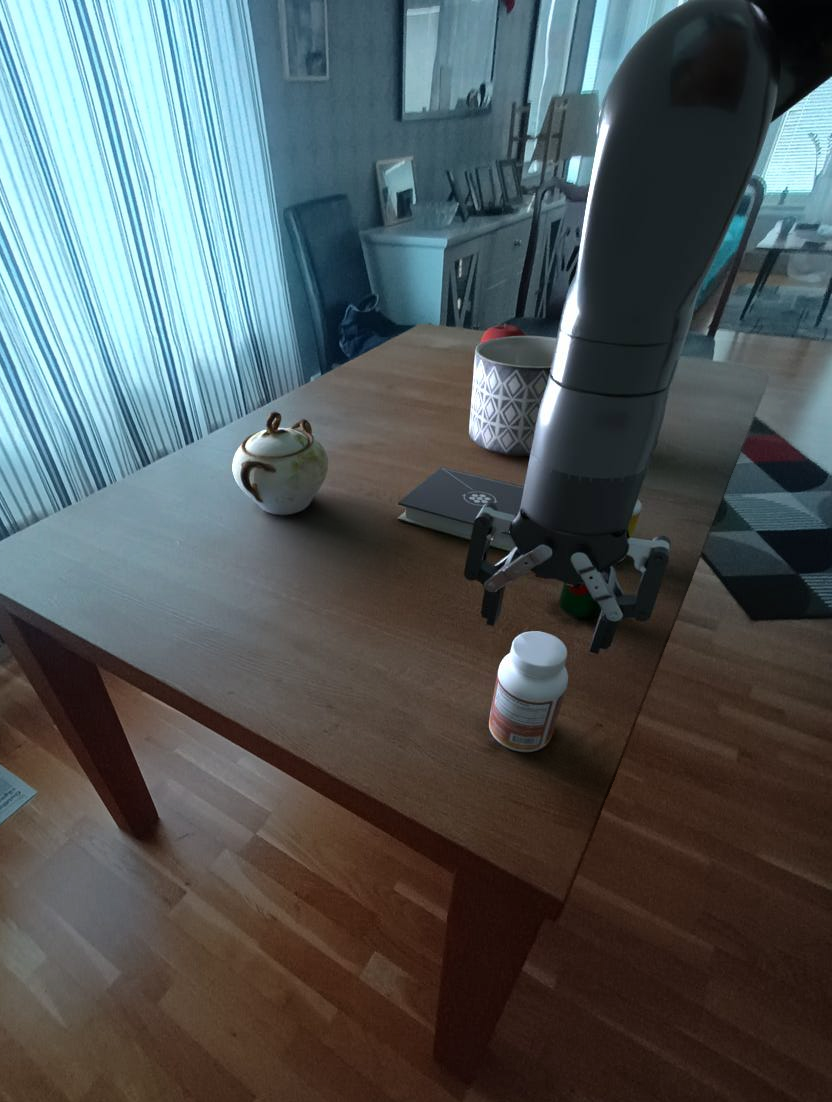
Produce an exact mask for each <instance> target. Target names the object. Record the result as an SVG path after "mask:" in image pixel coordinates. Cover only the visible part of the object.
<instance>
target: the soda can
mask: <svg viewBox="0 0 832 1102" xmlns="http://www.w3.org/2000/svg"><path fill="white" fill-rule="evenodd" d="M612 566H613V568H614V570H616V566H617V563H615V564H614V565H612ZM558 605H559V607H560V609H561V610H562V611H563V612H564V613H565V614H566V615H567V616H570V617H571V618H572V617H573V618H575V619H581V620H587V619H591V618H593V617H596V616H597V615H600V613H601V610H602V609H601V607H600V605H599V603H598V602H597V601H595V600H594V599H593V598H592V596H591V594H590V592H589V590H588V589H587V587H586V585H585V583H584V582H583V583H577V586H575V585H570V584H566V583H564V582H562V587H561V590H560V594H559V599H558Z"/></svg>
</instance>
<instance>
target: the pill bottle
mask: <svg viewBox="0 0 832 1102" xmlns="http://www.w3.org/2000/svg"><path fill="white" fill-rule="evenodd" d="M567 656H568V649H567V646H566V645H565V644H564V642H563V641H562V640H561V639H559V638H558V637H557V636H555V635H554V634H551V633H549V632H544V631H537V630H536V631H535V630H532V631H525V632H522V633H520V634H518V635H517V636H516V637H515V638H514V639H513V641H512V643H511V647H510V651H509V653H508V654H505V656H504V657H503V658H502V660H501V662H500V664H499V666H498V670H497V675H496V681H495V685H494V691H493V696H492V702H491V706H490V713H489V720H488V728H489V732H490V733H491V735H492V736H493V739H495V740H496V741H497V742H498V743H499V744H500V745H502V746H503V747H505V748H506V749H508V750H509V749H510V750H511V751H515V752H520V753H532V752H537V751H539V750H541V749H543V748H544V747H545V746H547V745H548V744H549V742H550V741H551V738H552V736H553V734H554V731H555V727H556V725H557V720H558V718H559V714H560V711H561V707H562V705H563V700H564V698H565V694H566V691H567V688H568V683H569V673H568V670H567V667H566V666H565V665H566V661H567V658H568V657H567Z"/></svg>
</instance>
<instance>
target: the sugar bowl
mask: <svg viewBox="0 0 832 1102" xmlns="http://www.w3.org/2000/svg"><path fill="white" fill-rule="evenodd" d="M281 422H282V415H281V413H280V412H278V411H275V410H273V411H271V412H270V413H269V414H268V416H267V419H266V423H265V428H266V429H263V430H260V431H257V432H255V433H252V434H250V435H249V436H247V437H246V438H244V440H243V441H242V442H241V444H240V446H239V447H238V448H237V450H236V452H235V453H234V456H233V459H232V463H231V464H232V465H231V467H232V469H231V470H232V474H233V477H234V480H235V482H236V484H237V485H238V487H239V488H240V489H241V490H242V492H244V493H245V494H246V496H247V497H249V498H250V499H251V500H252V501H253V502H254V503H256V504H257V505H258V506H259V507H260V508H261V509H262V510H263V511H264V512H267V513H269V514H272V515H278V516H287V515H293V514H296V513H299V512H301V511H303V510H305V509H306V508H307V507H309V506H310V504H311V502H312V501H313V499H314V497H315V496H316V494H317V493H318V492H319V490H320V489H321V488H322V485H323V483H324V481H325V480H326V477H327V474H328V470H329V458H328V454H327V452H326V450H325V448H324V446H323V445H322V444H321V443H320V442H319V441H318V440H317V439H316V438H315V436H314V435H313V429H312V425H311V423H310V421H308V420H307V419H306V418H301V419H299V420H298V421H296V422H295V423H294V424H292V425H291V426H289V427H280V426H281ZM299 428H300V429H299Z"/></svg>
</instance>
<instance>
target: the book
mask: <svg viewBox="0 0 832 1102" xmlns="http://www.w3.org/2000/svg"><path fill="white" fill-rule="evenodd" d="M523 491H524V485H521V484H516V483H512V482H507V481H503V480H499V479H494V478H490V477H487V476H482V475H478V474H474V473H469V472H465V471H460V470H456V469H452V468H449V467H443V466H440V467H438V468H437V469H436V470H435V471H434V472H432V473H431V474H430V475H429V476H428V477H426V478H425V479H424V480H423V481H422V482H420V483H419V484H418V485H416V487H414V488H413V489H411V491H410V492H408V493H407V494H406V495H405V496H404V497H402V498H401V499H399V501H398V502H397V505H399V506H402V507H405V511H404V512H403V513H402V514H400V515H399V516H398V517H397V521H399V522H403V523H406V524H410V525H413V526H417V527H420V528H423V529H428V530H430V531H435V532H438V533H441V534H444V535H448V536H452V537H455V538H459V539H461V540H465V541H469V542H470V539H471V535H472V530H473V525H474V521H475V519H476V517H477V516H478V514H479V512H480V511H481V509H482V507H483V506H484V504H486V503H493V504H495V505H496V507H497V509H498V511H499V512H503V513H507V514H511V515H516V514H517V513H518V512H519V510H520V507H521V501H522V496H523ZM489 548H493V549H496V550H500V551H503V552H507V553H510V552H511V551H512V550H513V549H514V548H516V545H515V544H514V542H513V540H512V538H511V536H510V533H509V531H503V532H502V533H500V535H499V537H498V538H497V539H495V540H491V541H490V546H489Z"/></svg>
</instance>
